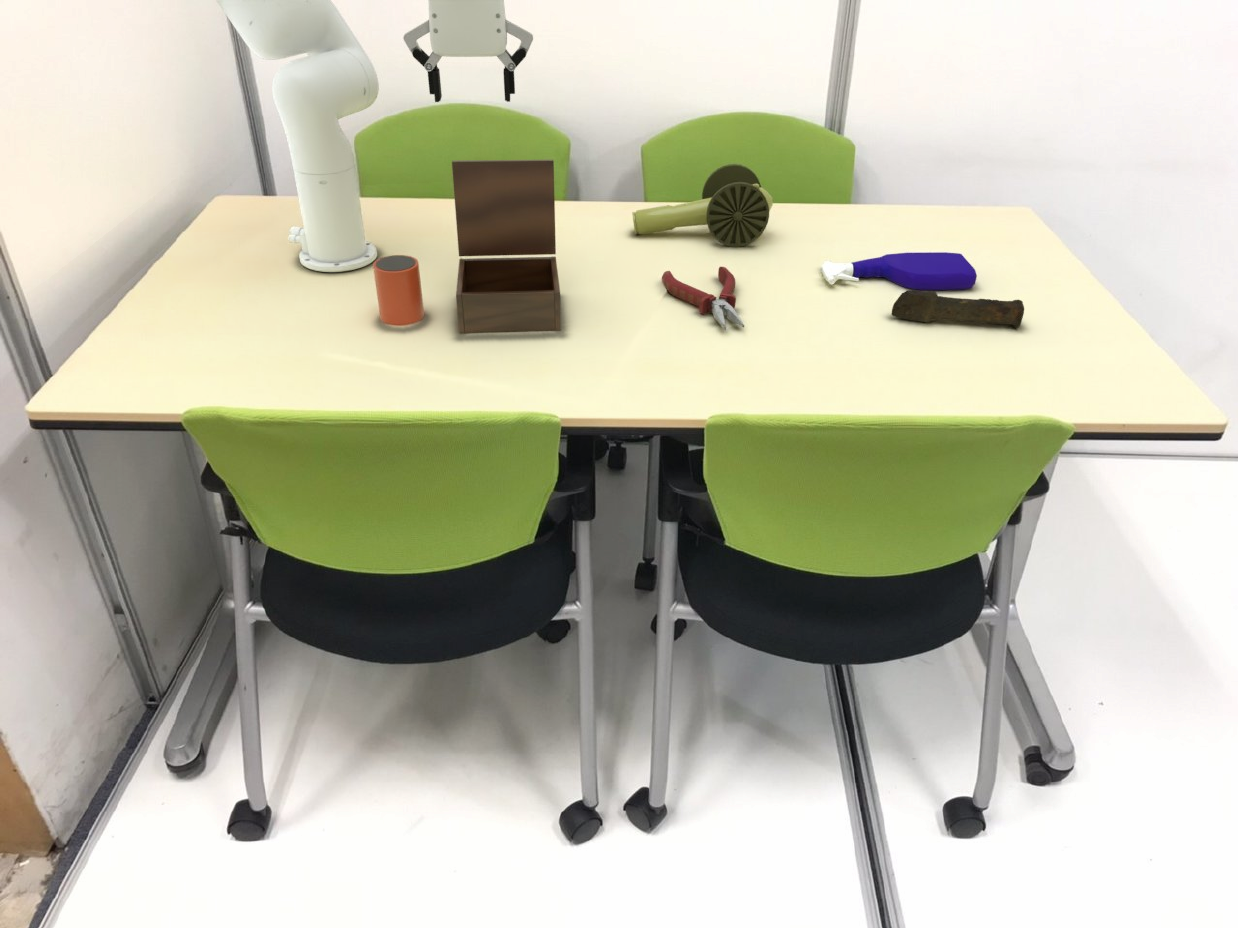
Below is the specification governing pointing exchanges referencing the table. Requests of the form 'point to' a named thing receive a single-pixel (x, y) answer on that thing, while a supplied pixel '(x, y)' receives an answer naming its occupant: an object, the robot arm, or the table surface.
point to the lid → (504, 207)
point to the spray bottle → (909, 270)
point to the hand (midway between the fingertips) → (473, 99)
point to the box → (508, 295)
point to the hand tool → (956, 309)
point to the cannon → (717, 209)
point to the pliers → (708, 296)
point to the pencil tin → (398, 290)
